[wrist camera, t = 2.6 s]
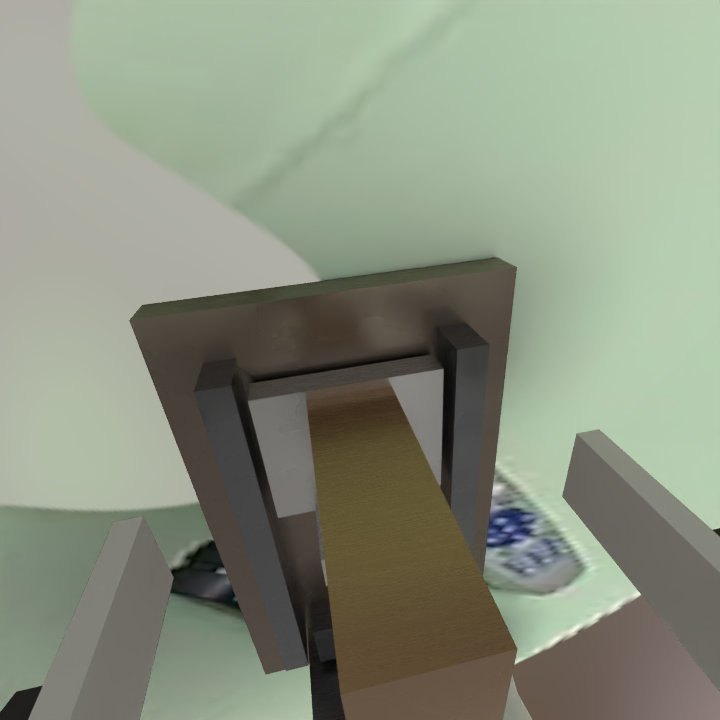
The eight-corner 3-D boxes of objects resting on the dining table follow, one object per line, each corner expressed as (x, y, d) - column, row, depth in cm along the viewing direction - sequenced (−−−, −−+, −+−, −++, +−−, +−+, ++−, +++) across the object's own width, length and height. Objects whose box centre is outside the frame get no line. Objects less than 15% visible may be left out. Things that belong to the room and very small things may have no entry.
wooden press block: (283, 520, 19) (290, 852, 10) (249, 383, 15) (213, 715, 6) (431, 490, 20) (557, 771, 11) (432, 354, 16) (624, 610, 7)
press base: (266, 648, 27) (263, 784, 21) (142, 305, 15) (61, 402, 9) (468, 599, 28) (516, 713, 23) (498, 257, 17) (611, 315, 11)
